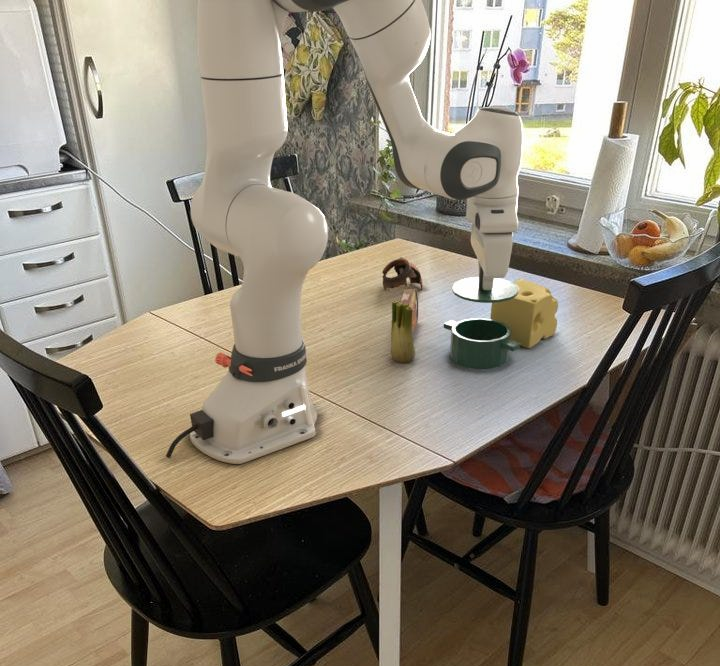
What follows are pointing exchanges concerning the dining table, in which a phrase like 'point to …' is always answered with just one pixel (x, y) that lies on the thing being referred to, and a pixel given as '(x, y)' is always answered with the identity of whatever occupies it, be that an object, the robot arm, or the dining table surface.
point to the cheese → (528, 313)
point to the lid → (475, 293)
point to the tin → (411, 304)
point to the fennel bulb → (402, 333)
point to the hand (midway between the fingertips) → (485, 285)
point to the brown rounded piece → (401, 274)
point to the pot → (480, 343)
